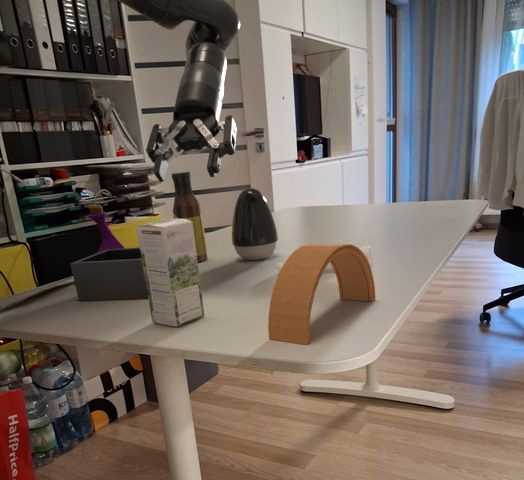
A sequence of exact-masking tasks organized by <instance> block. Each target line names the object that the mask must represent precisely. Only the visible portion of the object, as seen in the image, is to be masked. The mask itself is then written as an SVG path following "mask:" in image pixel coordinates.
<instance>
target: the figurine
mask: <svg viewBox="0 0 524 480" xmlns="http://www.w3.org/2000/svg"><path fill="white" fill-rule="evenodd" d="M350 245H354V246H355V243H352V244H350ZM358 248H359V249H360V250H361V251H362V252H363V254H364V255H365V256H366V258H367V260H368V262H369V265H370V268H371V267H373V255H372V254H373V253H372V249H371V248H372V247H371V245H365V246H361V247H358ZM286 261H287V260H285V261H283V262H278V263H277V264H276V266H275V268H276V271H277V272H278V273H280V271H281V269H282V267H283V265H284V263H285V262H286ZM371 269H372V268H371ZM327 270H334V269H333V267H332V265H331V263H330V262H329V264H328V265H327V267H326V268H325V270H324V271H327Z"/></svg>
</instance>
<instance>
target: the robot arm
mask: <svg viewBox="0 0 524 480" xmlns="http://www.w3.org/2000/svg"><path fill="white" fill-rule="evenodd" d="M116 1H117V2H119V3H121V4H123V5H125V6H126V7H128V8H130V9H132V10H133V11H135V12H137V13H138V14H140V15H142V16H143V17H145V18H147V20H150V21H152V22H153V23H155V24H157V25H159V26H160V27H162V28H164V29H166V30H167V31H173V30H175V29H176V28H178V27H179V26H180V25H181V24H183V23H184V22H186V21H192V22H193V23H192V25H191V26H190V29H189V31H188V33H187V36H186V40H185V57H186V60H185V65H184V68H183V73H182V76H181V77H180V81H179V85H178V90H177V94H176V99H175V104H174V106H173V107H174V108H173V113H172V114H173V115H172V121H171V123H170V125H169V126H168V127H161V126H160V124H159V123H155V124H153V126H152V128H151V131H150V134H149V139H148V141H147V145H146V147H145V152H146V154H147V156H148V158H149V159H150V160H151V162H152V163H153V169H152V172H153V174H154V175H155V177H156V179H157V180H158V181H159V182H160V183H162V182H166V178H167V174H168V170H169V163H170V162H171V161H172V160H173V159H174V158H178V157H179V156H180V155H181V154H182V153H183V152H189V151H193V150H197V151H200V150H203V148H206V149H207V150H208V151H209V153H208V159H207V164H206V171H207V173H208V175H209V177H210V178H216V176H217V174H219V172H220V171H221V166H222V159H223V158H224V156H226V155H228V156H233V155H235V153H236V143H237V130H238V129H237V125H236V123H235V120H234V116H233V115H232V114H228V115H226V116H225V118H224V120H220V119H221V114H222V107H223V103H224V100H225V99H224V98H225V96H224V95H225V82H226V75H227V74H226V73H227V67H228V61H227V57H226V51H227V49H228V48H229V46H230V45H231V44H232V42H233V41H234V39H235V38H236V37H237V35H238V33H239V31H240V28H241V21H240V17H239V14H238V13H237V11H236V9H235V8H234V7H233V5H231V4H230V2H229V1H227V0H116ZM221 131H222V134H223V139H222V142H220V143H219V142H218V140H217V139H216V137H217V136H218V134H219V133H220V132H221ZM174 142H175V144H176V145H177V146H175V145H174ZM167 151H168V152H167Z"/></svg>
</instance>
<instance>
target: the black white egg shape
mask: <svg viewBox="0 0 524 480" xmlns="http://www.w3.org/2000/svg"><path fill="white" fill-rule="evenodd" d="M231 225H232V226H231V245H232V246H233V248H234V250H235V252H236V254H237V255H238V256H239V257H240V258H242V259H244V260H246V261H260V260H264V259H265V260H266V259H268V258H270V257H271V255H273V253H274V252H275V250H276V248H277V242H278V240H279V237H278V232H277V226H276V222H275V219H274V216H273V212H272V210H271V207H270V206H269V203H268V201H267V199H266V198H265V196H264V194H263V193H262V192H261V191H260V190H259V189H257V188H254V187H248V188H245V189H243V190H242V191H241V192H240V193H239V195H238V197H237V199H236V202H235V206H234V209H233V216H232V224H231Z"/></svg>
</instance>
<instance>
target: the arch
mask: <svg viewBox="0 0 524 480" xmlns="http://www.w3.org/2000/svg"><path fill="white" fill-rule="evenodd" d="M359 248H360V247H358V246H356V245H355V244H354V245H351V244H347V243H346V244H345V243H344V244H342V243H336V244H335V243H306V244H304V245H301V246H299V247H298V248H296V249H295V250H294V251H293V252H292V253H291V254H290V255H289V256H288V257H287V259H286V260H285V261H286V262H285V261H284V262H285V263H284V265H283V267H282V269H281V271H280V272H278V275H277V278H276V281H275V284H274V287H273V289H272V294H271V297H270V303H269V310H268V322H267V323H268V324H267V328H268V329H267V330H268V340H273V341H280V342H286V343H293V344H298V345H299V344H300V345H308V344H310V342H311V338H310V337H311V335H310V333H311V332H310V327H311V314H312V308H313V303H314V299H315V295H316V292H317V288H318V285H319V282H320V280H321V278H322V275H323V273H324V272H325V271H326V270H325V268H326V267H327V265H328V264H329V262H330V263H331V265H332V267H333V269H332V270H333V271H334V274H335V277H336V281H337V285H338V293H339V299H340V300H342V299H343V300H350V301H361V302H374V301H376V286H375V280H374V275H373V271H372V268H370V265H369V262H368V260H367V258H366V256H365V255H364V254H363V252H362V251H361V250H360V249H359Z"/></svg>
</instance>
